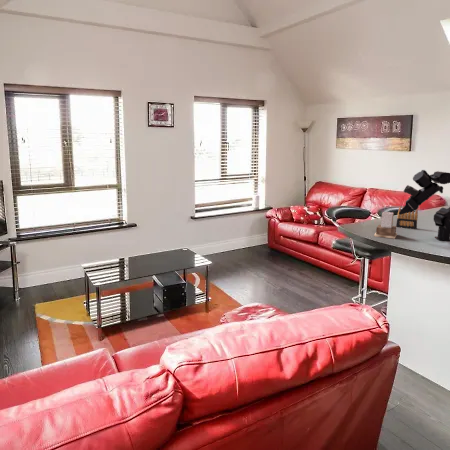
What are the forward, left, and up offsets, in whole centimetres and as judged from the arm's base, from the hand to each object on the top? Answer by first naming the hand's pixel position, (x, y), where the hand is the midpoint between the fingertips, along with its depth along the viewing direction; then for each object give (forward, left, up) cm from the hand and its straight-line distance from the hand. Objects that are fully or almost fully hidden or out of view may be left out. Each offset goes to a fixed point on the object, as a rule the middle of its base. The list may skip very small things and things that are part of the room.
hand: (400, 212), depth 218 cm
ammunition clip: (+23, -11, -13) cm, 29 cm away
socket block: (+2, +6, -13) cm, 14 cm away
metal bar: (+2, +6, -12) cm, 13 cm away
